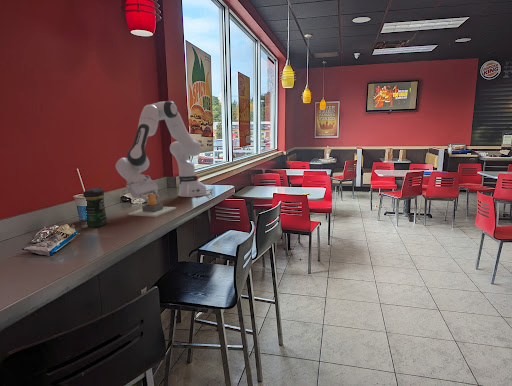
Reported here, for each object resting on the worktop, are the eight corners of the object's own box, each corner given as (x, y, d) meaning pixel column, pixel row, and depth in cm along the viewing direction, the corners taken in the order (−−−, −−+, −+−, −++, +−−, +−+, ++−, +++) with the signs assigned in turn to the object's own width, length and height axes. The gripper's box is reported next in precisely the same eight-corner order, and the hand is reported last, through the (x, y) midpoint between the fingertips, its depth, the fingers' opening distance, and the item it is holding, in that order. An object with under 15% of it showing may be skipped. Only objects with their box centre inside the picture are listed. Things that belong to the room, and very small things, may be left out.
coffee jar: (99, 228, 162) (95, 190, 158) (84, 228, 162) (79, 190, 159) (110, 222, 171) (106, 186, 168) (95, 222, 172) (91, 187, 169)
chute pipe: (147, 210, 191) (146, 195, 190) (152, 209, 195) (150, 194, 193) (153, 211, 190) (152, 195, 188) (158, 209, 194) (156, 194, 192)
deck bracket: (128, 215, 186) (127, 208, 186) (150, 207, 205) (150, 200, 204) (155, 216, 180) (154, 209, 180) (176, 208, 199) (175, 202, 198)
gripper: (127, 180, 182) (143, 198, 180) (151, 175, 201) (166, 192, 199) (121, 188, 184) (137, 206, 183) (145, 182, 203) (160, 199, 202)
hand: (152, 198), depth 191 cm, fingers open, 8 cm apart
